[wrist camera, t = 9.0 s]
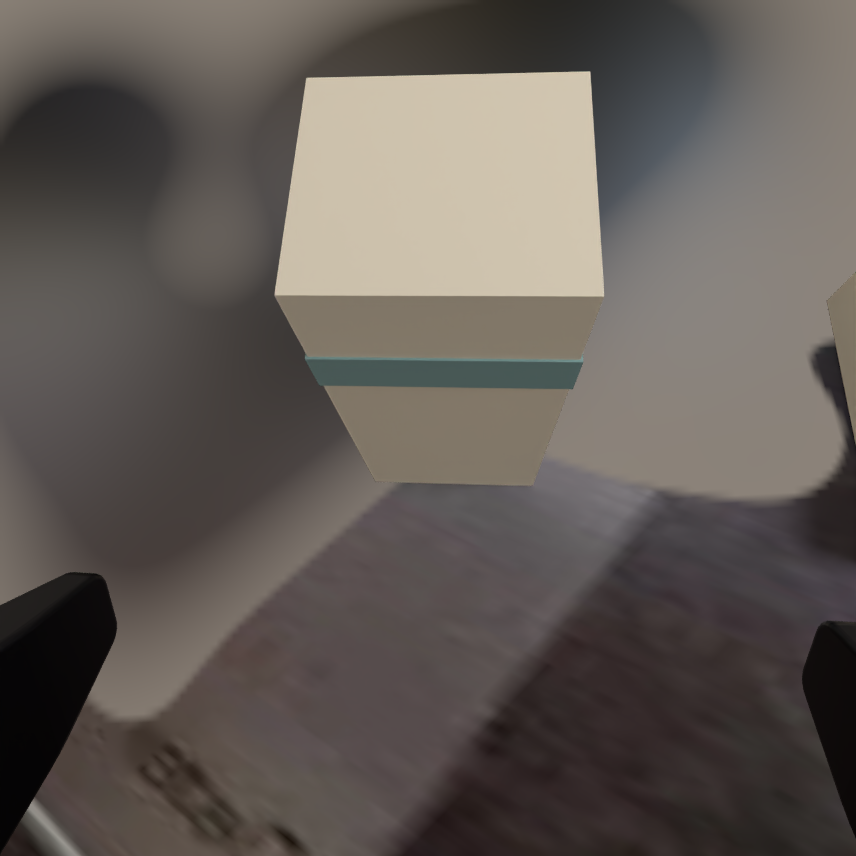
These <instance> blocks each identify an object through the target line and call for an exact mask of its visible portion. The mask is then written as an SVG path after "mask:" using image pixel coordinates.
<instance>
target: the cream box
mask: <svg viewBox="0 0 856 856" xmlns="http://www.w3.org/2000/svg"><path fill="white" fill-rule="evenodd" d="M598 206H599V205H598V190H597V173H596V158H595V141H594V125H593V110H592V94H591V79H590V72H553V73H552V72H551V73H510V74H508V73H507V74H465V75H419V76H378V77H377V76H374V77H332V78H331V77H330V78H307V79H306V85H305V92H304V99H303V106H302V112H301V120H300V127H299V133H298V140H297V147H296V153H295V160H294V167H293V174H292V181H291V187H290V194H289V201H288V208H287V215H286V221H285V227H284V235H283V241H282V248H281V255H280V261H279V269H278V275H277V282H276V288H275V297H276V299H277V301H278V303H279V305H280V306H281V308H282V310H283V312H284V314H285V316H286V318H287V319H288V321H289V323H290V325H291V327H292V329H293V330H294V332H295V334H296V336H297V338H298V340H299V342H300V343H301V345H302V347H303V349H304V351H305V353H306V354H305V360H306V362H307V364H308V366H309V368H310V369H311V371H312V373H313V375H314V377H315V378H316V380H317V382H318V384H319V385H321V386H324V388H325V390H326V391H327V393H328V395H329V397H330V399H331V400H332V403H333V404H334V406H335V408H336V410H337V412H338V414H339V415H340V417H341V419H342V421H343V423H344V425H345V426H346V428H347V430H348V432H349V434H350V436H351V437H352V439H353V441H354V443H355V445H356V447H357V449H358V451H359V452H360V454H361V456H362V458H363V460H364V461H365V464H366V465H367V467H368V469H369V471H370V473H371V475H372V476H373V478H374V480H375V482H398V483H436V484H475V485H514V486H533V483H534V481H535V478H536V476H537V473H538V470H539V468H540V465H541V462H542V460H543V457H544V454H545V452H546V449H547V446H548V443H549V441H550V439H551V436H552V433H553V431H554V428H555V425H556V423H557V420H558V417H559V415H560V412H561V410H562V407H563V404H564V401H565V399H566V396H567V394H568V391H569V389H573V387H574V385H575V382H576V379H577V377H578V374H579V372H580V369H581V367H582V364H583V351H584V348H585V346H586V343H587V341H588V338H589V335H590V332H591V330H592V328H593V325H594V322H595V320H596V317H597V314H598V312H599V309H600V306H601V304H602V301H603V299H604V285H603V268H602V252H601V237H600V221H599V207H598Z"/></svg>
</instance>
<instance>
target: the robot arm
mask: <svg viewBox="0 0 856 856" xmlns="http://www.w3.org/2000/svg"><path fill="white" fill-rule="evenodd" d="M116 631H117V621H116V617H115V613H114V609H113V606H112V602H111V598H110V595H109V591H108V587H107V584H106V581H105V580H104V578H103V577H102V576H101V575H98V574H95V573H80V572H79V573H78V572H70V573H66V574H64V575H62V576H60V577H58V578H56V579H54V580H51V581H49V582H47V583H45V584H43V585H41V586H39V587H37V588H35V589H33V590H31V591H29V592H27V593H25V594H23V595H21V596H18V597H16V598H15V599H12V600H10V601H8V602H7V603H4V604H2V605H0V854H1V852H2V851H3V849H4V847H5V846H6V844H7V842H8V841H9V839H10V837H11V836H12V834H13V832H14V831H15V829H16V827H17V825H18V824H19V822H20V820H21V819H22V817H23V815H24V814H25V812H26V810H27V809H28V807H29V805H30V804H31V802H32V800H33V799H34V797H35V795H36V794H37V792H38V790H39V789H40V787H41V785H42V783H43V782H44V780H45V778H46V777H47V775H48V773H49V772H50V770H51V768H52V766H53V765H54V763H55V761H56V759H57V757H58V756H59V754H60V752H61V750H62V748H63V746H64V744H65V742H66V740H67V739H68V737H69V735H70V733H71V731H72V728H73V726H74V724H75V722H76V720H77V718H78V716H79V714H80V712H81V710H82V707H83V705H84V703H85V701H86V699H87V697H88V695H89V693H90V691H91V688H92V686H93V684H94V682H95V680H96V678H97V676H98V674H99V672H100V669H101V667H102V665H103V663H104V661H105V659H106V657H107V655H108V653H109V651H110V649H111V646H112V644H113V642H114V639H115V636H116ZM802 684H803V690H804V693H805V696H806V699H807V702H808V705H809V708H810V711H811V714H812V717H813V720H814V723H815V726H816V729H817V732H818V735H819V738H820V740H821V743H822V746H823V749H824V752H825V755H826V758H827V761H828V764H829V767H830V770H831V773H832V776H833V779H834V782H835V785H836V787H837V790H838V793H839V796H840V799H841V802H842V805H843V807H844V810H845V813H846V815H847V818H848V821H849V823H850V826H851V828H852V830H853V833H854V835H855V837H856V622H843V621H826V622H823V623H822V624H821V625H820V626H819V627H818V629H817V631H816V634H815V637H814V640H813V643H812V645H811V648H810V651H809V654H808V657H807V660H806V663H805V666H804V669H803V675H802Z"/></svg>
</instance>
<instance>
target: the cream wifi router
mask: <svg viewBox="0 0 856 856" xmlns="http://www.w3.org/2000/svg"><path fill="white" fill-rule="evenodd" d="M827 305H828V310H829V315H830V320H831V325H832V330H833V335H834V340H835V344H836V349H837V354H838V359H839V364H840V369H841V374H842V379H843V384H844V389H845V394H846V399H847V404H848V409H849V414H850V419H851V424H852V429H853V434H854V439H855V444H856V272H855V273H854V274H853V275H852V276H851V277H850V278H849V279H848V280H847V281H846V282H845V283H844V284H843V285H842V286H841V287H840V288H839V289H838V290H837V291H836V292H835V293H834V294H833V295H832V296H831V297H830V298H829V299H828V300H827Z"/></svg>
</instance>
